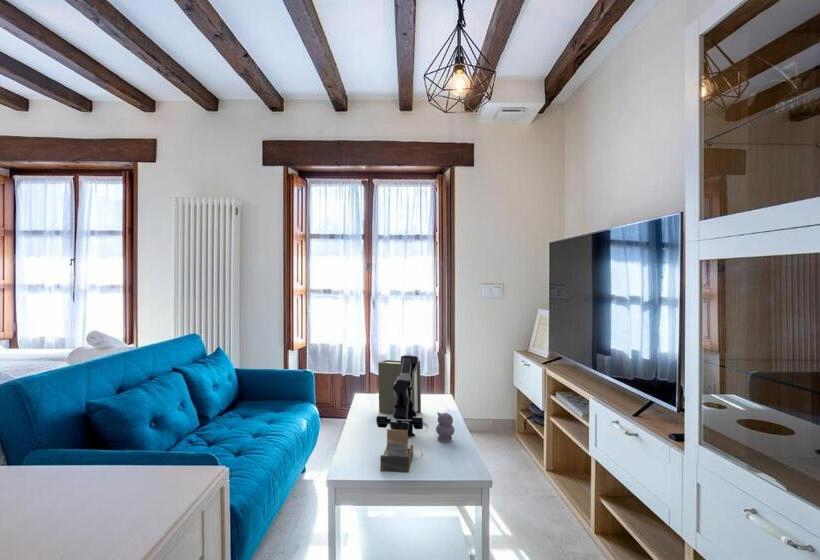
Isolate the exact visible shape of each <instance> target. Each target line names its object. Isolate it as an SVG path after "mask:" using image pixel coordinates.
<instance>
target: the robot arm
mask: <svg viewBox="0 0 820 560" xmlns="http://www.w3.org/2000/svg"><path fill="white" fill-rule="evenodd" d="M400 361H401V365H402V370H401V375H399V376H398V377H397V381H396V382H395V383H394V386H393V390H394V395H395V398H396V400H395V408H394V414H393V417H391V418H388V416H387V415H386V414H385V415H384V414H378V415H377V416H376V421H375V422H376V425H377V428H382V429H384V428H385V429H386V428H387V427H388V425H389V426H390V429H395V430H408V438H411V437H415V436H416V433H414V431H413V430H423V429H424V420H423V417H422V416H418V415H417V412H415V410H414V406H413V404H412V402H411V397H412V390H413V388H414V385H413V373H414V372H415V371H416V369H417V365H418V361H419V357H418V356H417V355H413V354H404V355H402V356H400Z"/></svg>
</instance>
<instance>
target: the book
mask: <svg viewBox="0 0 820 560" xmlns="http://www.w3.org/2000/svg"><path fill="white" fill-rule="evenodd" d="M377 367H378V369H377V370H378V371H377V372H378V412H379V413H385V414H393V415H394V408H395V400H396V398H395V395H394V390H393V386H394V383H395V382H396V381H397V377H398V376H399V375H401V370H402V365H401V360H397V359H396V360H394V359H393V360H392V359H383V360H380V361H378V365H377ZM413 385H414V388H413V390H412V397H411V402H412V404H413V406H414V410H415V413H416V414H421V413H422V403H421V402H422V396H421V395H422V393H421V392H422V390H421V360H418V365H417V369H416V371H415V372H414V373H413Z"/></svg>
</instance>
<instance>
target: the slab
mask: <svg viewBox="0 0 820 560" xmlns="http://www.w3.org/2000/svg"><path fill="white" fill-rule="evenodd" d="M408 438H409V437H408V430H395V429H391V428H388V429H386V447H387V452H386V454H385V456H404V457H407V456H408V449H409V448H408V447H409V445H408V442H409V441H408V440H409V439H408Z"/></svg>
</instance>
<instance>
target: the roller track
mask: <svg viewBox="0 0 820 560" xmlns="http://www.w3.org/2000/svg"><path fill="white" fill-rule="evenodd" d="M386 452H387V446H386V448H385V449H384V452H383V454H382V455H380V466H379V467H380V472H387V471H388V472H391V473H407V474H408V473H409V472H410V468H411V464H412V460H413V455H414V445H412V444H411V445H410V446H409V448H408V456H407V457H404V456H385V454H386Z"/></svg>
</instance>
